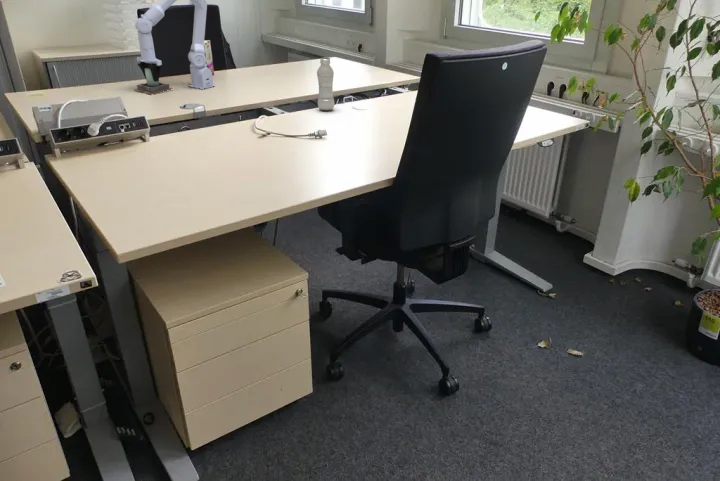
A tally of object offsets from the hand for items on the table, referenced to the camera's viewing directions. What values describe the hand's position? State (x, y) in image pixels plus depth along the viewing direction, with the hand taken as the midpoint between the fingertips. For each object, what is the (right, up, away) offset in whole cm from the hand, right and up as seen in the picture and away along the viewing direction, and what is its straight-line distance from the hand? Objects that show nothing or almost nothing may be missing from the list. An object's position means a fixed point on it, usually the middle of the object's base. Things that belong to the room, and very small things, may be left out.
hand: (152, 80), depth 241 cm
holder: (0, -4, +2) cm, 4 cm away
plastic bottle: (+79, -19, -22) cm, 84 cm away
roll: (0, -2, +1) cm, 2 cm away
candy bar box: (+16, +10, +29) cm, 35 cm away
